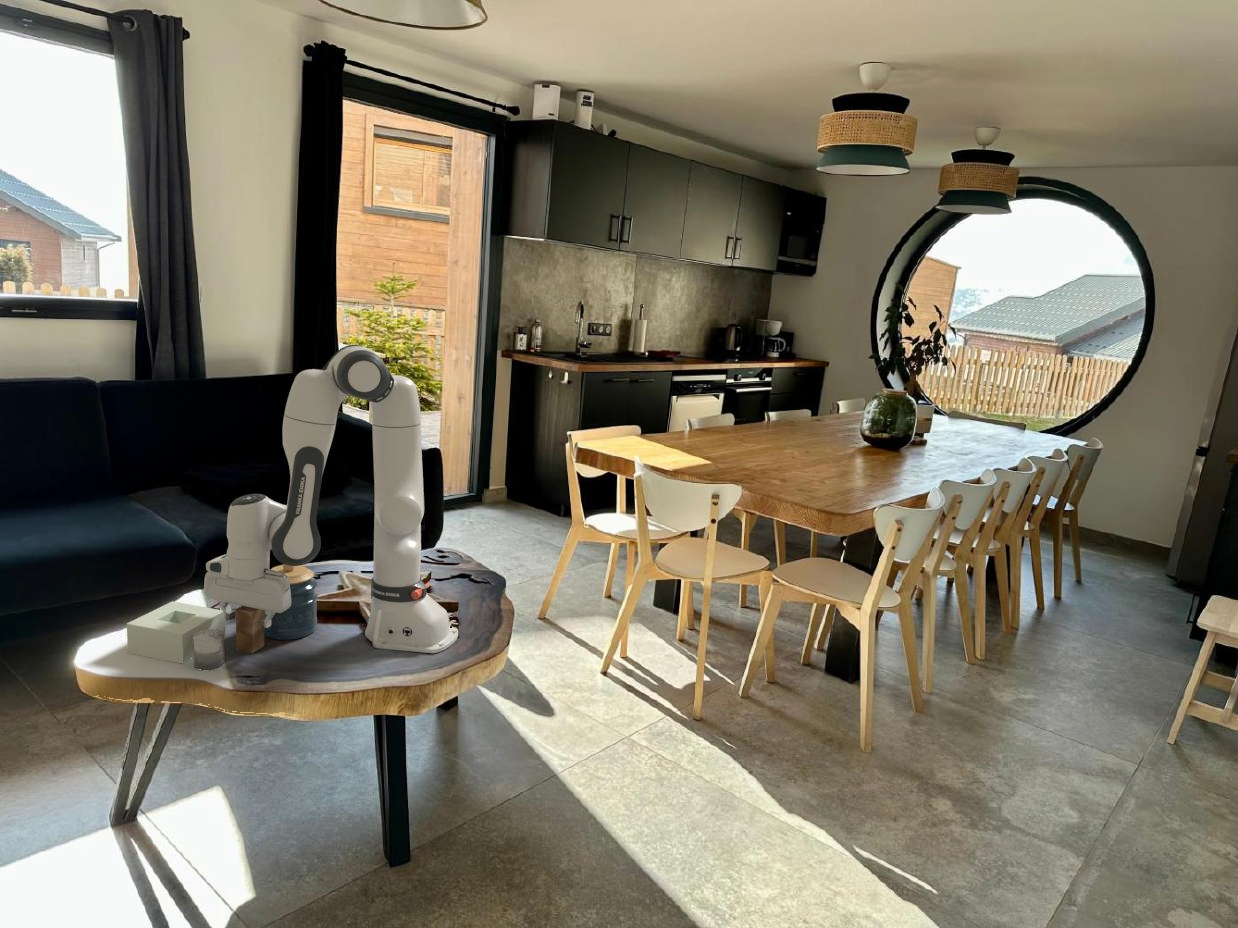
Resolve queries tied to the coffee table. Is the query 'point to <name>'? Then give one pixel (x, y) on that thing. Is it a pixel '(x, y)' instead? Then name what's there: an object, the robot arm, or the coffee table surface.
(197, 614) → the block
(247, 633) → the square bit
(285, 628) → the canister
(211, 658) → the round bit
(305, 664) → the coffee table surface
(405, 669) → the coffee table surface
